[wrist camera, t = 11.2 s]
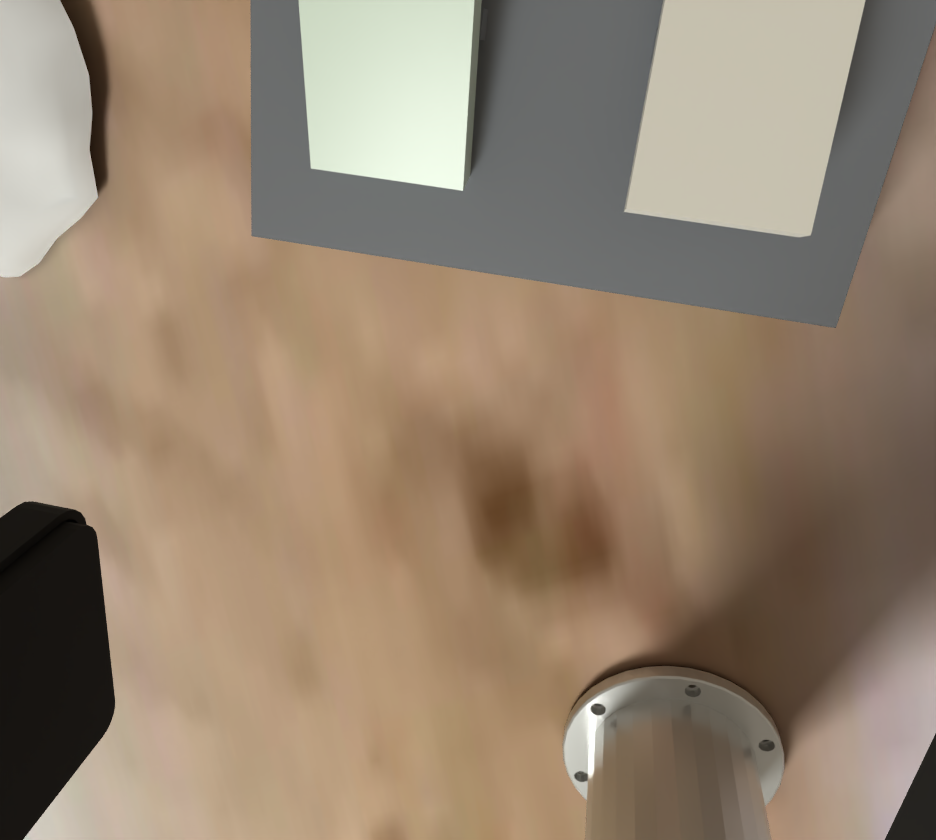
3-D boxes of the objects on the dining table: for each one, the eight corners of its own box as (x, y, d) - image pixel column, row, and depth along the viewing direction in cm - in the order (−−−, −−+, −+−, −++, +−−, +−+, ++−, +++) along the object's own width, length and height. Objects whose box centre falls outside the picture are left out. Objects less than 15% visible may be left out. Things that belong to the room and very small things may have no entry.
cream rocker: (799, 237, 27) (812, 234, 26) (623, 211, 28) (626, 207, 26) (880, -117, 25) (900, -144, 23) (688, -136, 26) (695, -163, 24)
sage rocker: (470, 175, 31) (462, 193, 30) (323, 154, 32) (309, 170, 30) (493, -175, 24) (483, -170, 23) (301, -193, 24) (281, -190, 23)
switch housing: (808, 293, 35) (843, 336, 30) (295, 215, 38) (240, 241, 33) (961, -204, 28) (1045, -269, 22) (304, -260, 30) (234, -330, 25)
